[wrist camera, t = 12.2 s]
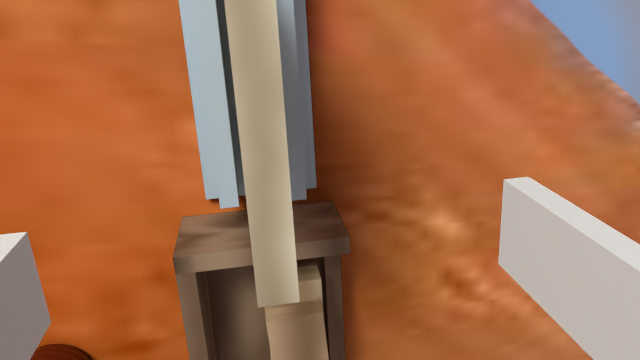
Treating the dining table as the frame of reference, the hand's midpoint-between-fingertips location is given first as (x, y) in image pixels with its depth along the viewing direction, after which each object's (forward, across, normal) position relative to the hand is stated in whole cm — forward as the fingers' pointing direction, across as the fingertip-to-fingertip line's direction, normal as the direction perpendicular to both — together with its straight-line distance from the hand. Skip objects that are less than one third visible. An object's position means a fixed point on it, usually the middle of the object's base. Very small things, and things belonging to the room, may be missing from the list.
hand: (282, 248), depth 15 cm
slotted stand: (+33, 0, +1) cm, 33 cm away
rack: (+33, 0, -23) cm, 40 cm away
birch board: (+32, 0, +1) cm, 32 cm away
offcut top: (+27, +2, -24) cm, 36 cm away
